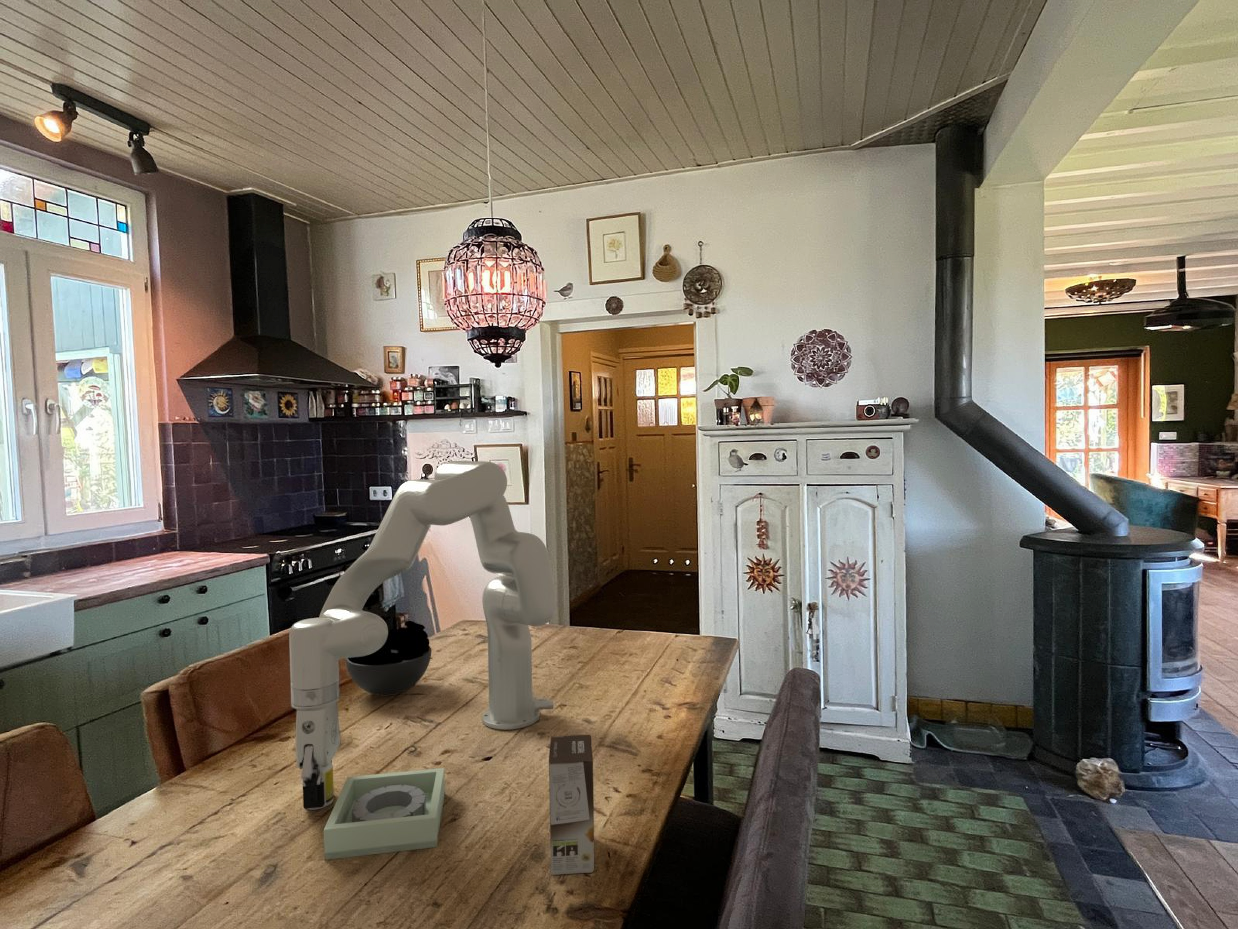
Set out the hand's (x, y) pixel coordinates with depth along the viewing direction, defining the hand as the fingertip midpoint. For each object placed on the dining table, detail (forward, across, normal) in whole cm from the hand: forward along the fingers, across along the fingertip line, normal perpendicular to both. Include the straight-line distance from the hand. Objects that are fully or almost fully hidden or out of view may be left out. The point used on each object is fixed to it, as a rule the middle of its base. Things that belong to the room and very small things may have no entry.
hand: (318, 797), depth 115 cm
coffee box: (+1, -23, -41) cm, 47 cm away
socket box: (+1, -9, -13) cm, 16 cm away
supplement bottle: (+1, 0, 0) cm, 1 cm away
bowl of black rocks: (+1, +51, -4) cm, 51 cm away
